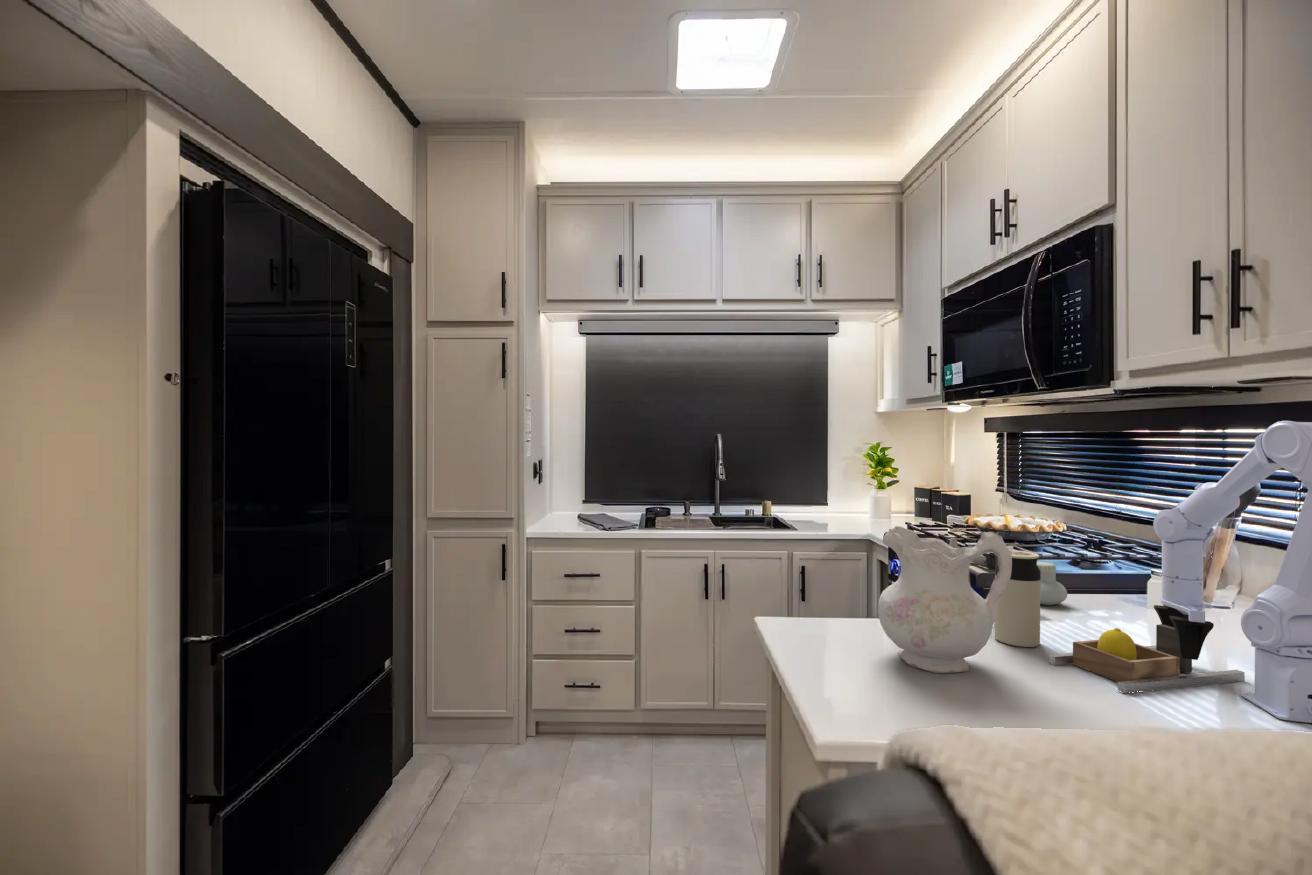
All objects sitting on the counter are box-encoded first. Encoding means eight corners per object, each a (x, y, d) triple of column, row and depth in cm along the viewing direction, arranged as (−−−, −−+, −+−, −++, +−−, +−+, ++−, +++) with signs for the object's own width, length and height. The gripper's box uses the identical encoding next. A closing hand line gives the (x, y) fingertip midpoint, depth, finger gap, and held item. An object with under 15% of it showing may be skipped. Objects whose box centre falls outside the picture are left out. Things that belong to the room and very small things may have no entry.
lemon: (1142, 681, 104) (1144, 634, 105) (1106, 677, 106) (1107, 631, 106) (1124, 670, 110) (1126, 625, 110) (1090, 666, 111) (1091, 622, 111)
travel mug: (1029, 650, 119) (1030, 558, 119) (987, 639, 126) (988, 551, 126) (1046, 643, 124) (1047, 554, 124) (1005, 633, 130) (1006, 548, 131)
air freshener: (1072, 608, 151) (1073, 567, 151) (1040, 608, 151) (1040, 567, 151) (1042, 597, 162) (1043, 559, 162) (1012, 597, 162) (1012, 559, 162)
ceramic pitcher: (993, 658, 118) (991, 527, 120) (1025, 689, 99) (1022, 534, 101) (874, 647, 124) (874, 523, 126) (883, 675, 105) (882, 528, 107)
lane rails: (1124, 694, 99) (1125, 684, 99) (1049, 662, 113) (1049, 654, 113) (1244, 680, 105) (1244, 672, 105) (1158, 652, 119) (1158, 645, 119)
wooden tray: (1130, 686, 102) (1130, 644, 102) (1072, 663, 112) (1073, 625, 112) (1211, 677, 106) (1211, 637, 106) (1148, 656, 116) (1149, 619, 116)
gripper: (1228, 587, 103) (1228, 668, 103) (1194, 571, 116) (1194, 643, 116) (1175, 583, 106) (1175, 662, 106) (1148, 568, 119) (1148, 638, 119)
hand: (1181, 652), depth 111 cm, fingers open, 7 cm apart
